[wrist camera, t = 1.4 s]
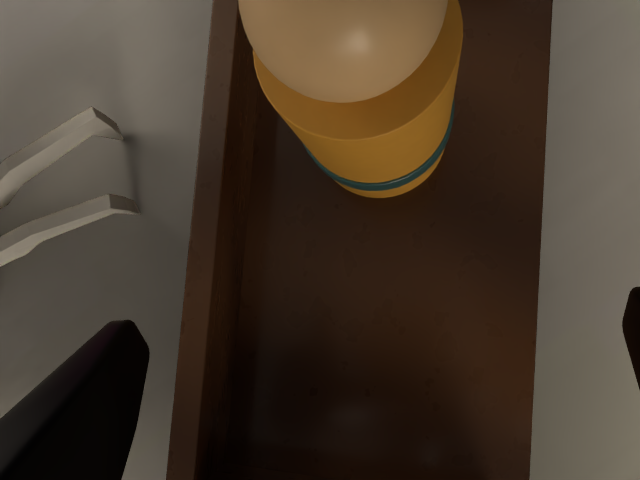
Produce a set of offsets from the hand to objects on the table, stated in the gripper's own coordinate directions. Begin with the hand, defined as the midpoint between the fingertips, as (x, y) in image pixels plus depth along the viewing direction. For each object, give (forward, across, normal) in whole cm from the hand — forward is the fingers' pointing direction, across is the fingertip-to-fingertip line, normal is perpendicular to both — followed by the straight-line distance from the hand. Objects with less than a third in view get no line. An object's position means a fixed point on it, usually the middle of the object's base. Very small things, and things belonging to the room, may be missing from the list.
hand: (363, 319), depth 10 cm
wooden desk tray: (+11, 0, +6) cm, 13 cm away
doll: (+12, 0, +3) cm, 12 cm away
